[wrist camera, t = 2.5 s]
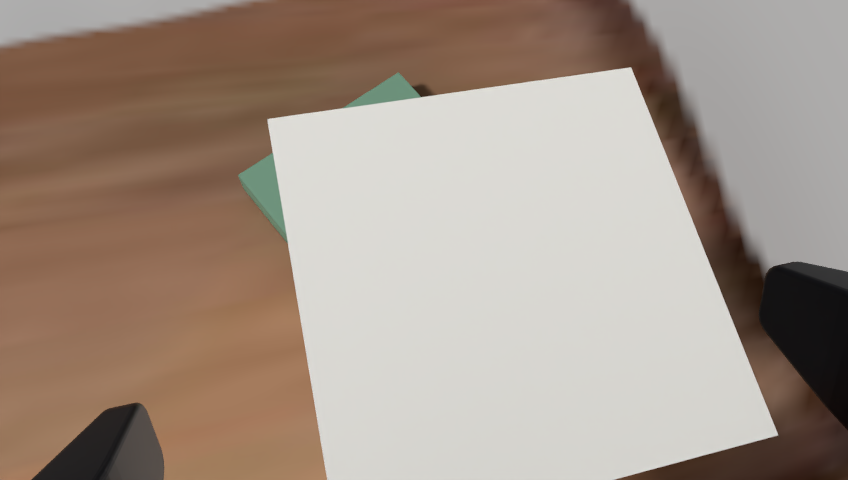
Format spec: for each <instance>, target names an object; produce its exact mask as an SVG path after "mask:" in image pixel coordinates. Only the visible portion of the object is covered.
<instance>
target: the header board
mask: <svg viewBox="0 0 848 480" xmlns="http://www.w3.org/2000/svg"><path fill="white" fill-rule="evenodd" d="M420 97H421V96H420V95H419V94H418V93H417V92H416V91H415V90H414V89H413V88H412V87H411V85H410V84H409V83H408V82H407V81H406V80H405V79H404V78H403V77H402V76H401V75H400V74H399V72H398V73H397V74H395V75H394V76H392V77H391V78H389V79H387V80H386V81H384V82H383V83H381V84H380V85H378V86H377V87H375V88H373V89H372V90H370V91H369V92H367V93H366V94H364V95H362V96H361V97H359V98H358V99H356V100H355V101H353V102H352V103H350V104H348V105H347V106H345V107H344V108H350V107H357V106H364V105H371V104H378V103H385V102H392V101H399V100H406V99H413V98H420ZM342 109H343V108H342ZM238 176H239V179H240V181H241V183H242V186H243V188H244V190H245V191H246V192H247V193H248V195H249V196H250V197H251V198H252V200H253V201H254V202H255V203H256V205H257V206H258V207H259V208H260V210H261V211H262V212H263V213H264V215H265V216H266V217H267V218H268V220H269V221H270V222H271V223H272V225H273V226H274V227H275V228H276V230H277V231H278V232H279V233H280V235H281V236H282V237H283V238H284V240H285V241H286V242H287V243H288V240H287V234H286V228H285V222H284V216H283V210H282V204H281V198H280V192H279V186H278V180H277V174H276V168H275V162H274V156H273V153H272V154H270V155H269V156H267V157H266V158H264V159H263V160H261V161H259V162H258V163H256V164H255V165H253V166H252V167H250V168H248V169H247V170H245V171H244V172H242V173H241V174H239V175H238Z"/></svg>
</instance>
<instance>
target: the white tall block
mask: <svg viewBox="0 0 848 480" xmlns="http://www.w3.org/2000/svg"><path fill="white" fill-rule="evenodd" d="M267 120H268V126H269V132H270V138H271V144H272V150H273V156H274V162H275V168H276V174H277V180H278V186H279V192H280V198H281V204H282V210H283V216H284V222H285V228H286V234H287V240H288V246H289V252H290V258H291V264H292V270H293V276H294V282H295V288H296V294H297V300H298V306H299V312H300V318H301V324H302V330H303V336H304V342H305V349H306V355H307V361H308V367H309V373H310V379H311V385H312V391H313V397H314V403H315V409H316V415H317V421H318V427H319V433H320V439H321V445H322V451H323V457H324V463H325V469H326V475H327V480H615V479H618V478H622V477H626V476H629V475H633V474H637V473H640V472H644V471H648V470H652V469H655V468H659V467H663V466H666V465H670V464H674V463H678V462H681V461H685V460H689V459H692V458H696V457H700V456H703V455H707V454H711V453H715V452H718V451H722V450H726V449H729V448H733V447H737V446H740V445H744V444H748V443H752V442H755V441H759V440H763V439H766V438H770V437H774V436H777V435H778V433H777V431H776V428H775V426H774V423H773V421H772V418H771V416H770V413H769V411H768V408H767V406H766V403H765V401H764V398H763V396H762V393H761V391H760V388H759V386H758V383H757V381H756V378H755V376H754V373H753V371H752V368H751V366H750V363H749V361H748V358H747V356H746V353H745V351H744V348H743V346H742V343H741V341H740V338H739V336H738V333H737V331H736V328H735V326H734V323H733V321H732V318H731V316H730V313H729V311H728V308H727V306H726V303H725V301H724V298H723V296H722V293H721V291H720V288H719V286H718V283H717V281H716V278H715V276H714V273H713V271H712V268H711V266H710V263H709V261H708V258H707V256H706V253H705V251H704V248H703V246H702V243H701V241H700V238H699V236H698V234H697V231H696V229H695V226H694V224H693V221H692V219H691V216H690V214H689V211H688V209H687V206H686V204H685V201H684V199H683V196H682V194H681V191H680V189H679V186H678V184H677V181H676V179H675V176H674V174H673V171H672V169H671V166H670V164H669V161H668V159H667V156H666V154H665V151H664V149H663V146H662V144H661V141H660V139H659V136H658V134H657V131H656V129H655V126H654V124H653V121H652V119H651V116H650V114H649V111H648V109H647V106H646V104H645V101H644V99H643V96H642V94H641V91H640V89H639V86H638V84H637V81H636V79H635V76H634V74H633V71H632V69H631V68H624V69H617V70H610V71H603V72H596V73H589V74H582V75H575V76H568V77H561V78H554V79H547V80H540V81H533V82H526V83H519V84H512V85H505V86H497V87H490V88H483V89H476V90H469V91H462V92H455V93H448V94H441V95H434V96H427V97H420V98H413V99H406V100H399V101H392V102H385V103H378V104H371V105H364V106H357V107H350V108H343V109H336V110H328V111H321V112H314V113H307V114H300V115H293V116H286V117H279V118H272V119H267Z"/></svg>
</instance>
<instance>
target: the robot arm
mask: <svg viewBox="0 0 848 480" xmlns="http://www.w3.org/2000/svg"><path fill="white" fill-rule="evenodd" d="M759 320H760V323H761V326H762V328H763V329H764V331H765V332H766V333H767V334H768V336H769V337H770V338H771V339H772V341H773V342H774V343H775V344H776V346H777V347H778V348H779V349H780V351H781V352H782V353H783V354H784V356H785V357H786V358H787V359H788V361H789V362H790V363H791V364H792V366H793V367H794V368H795V369H796V371H797V372H798V373H799V374H800V376H801V377H802V378H803V379H804V380H805V382H806V383H807V384H808V385H809V387H810V388H811V389H812V390H813V392H814V393H815V394H816V395H817V397H818V398H819V399H820V400H821V401H822V403H823V404H824V405H825V406H826V407H827V409H828V410H829V411H830V412H831V413H832V414H833V415H834V416H835V417H836V418H837V419H838V421H839V422H840V423H841V424H842V425H843V426H844V427H845V428H846V429H847V430H848V272H846V271H842V270H836V269H832V268H827V267H822V266H817V265H812V264H808V263H803V262H791V263H787V264H782V265H777V266H774V267H772V268H770V269H769V270H768V272H767V273H766V276H765V281H764V286H763V291H762V297H761V302H760V308H759ZM32 480H164V459H163V454H162V450H161V447H160V444H159V442H158V439H157V436H156V434H155V431H154V428H153V426H152V423H151V420H150V418H149V415H148V413H147V410H146V409H145V407H144V406H143V405H142V404H140V403H132V404H127V405H123V406H118V407H113V408H109V409H107V410H105V411H104V412H103V413H101V414H100V415H99V416H98V417H97V418H96V419H95V420H94V421H93V422H92V423H91V424H90V425H89V426H88V427H86V428H85V429H84V430H83V431H82V432H81V433H80V434H79V435H78V436H77V437H76V438H75V439H74V440H73V441H72V442H71V443H70V444H69V445H68V446H66V447H65V448H64V449H63V450H62V451H61V452H60V453H59V454H58V455H57V456H56V457H55V458H54V459H53V460H52V461H51V462H50V463H49V464H47V465H46V466H45V467H44V468H43V469H42V470H41V471H40V472H39V473H38V474H37V475H36V476H35V477H34V478H33V479H32Z"/></svg>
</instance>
